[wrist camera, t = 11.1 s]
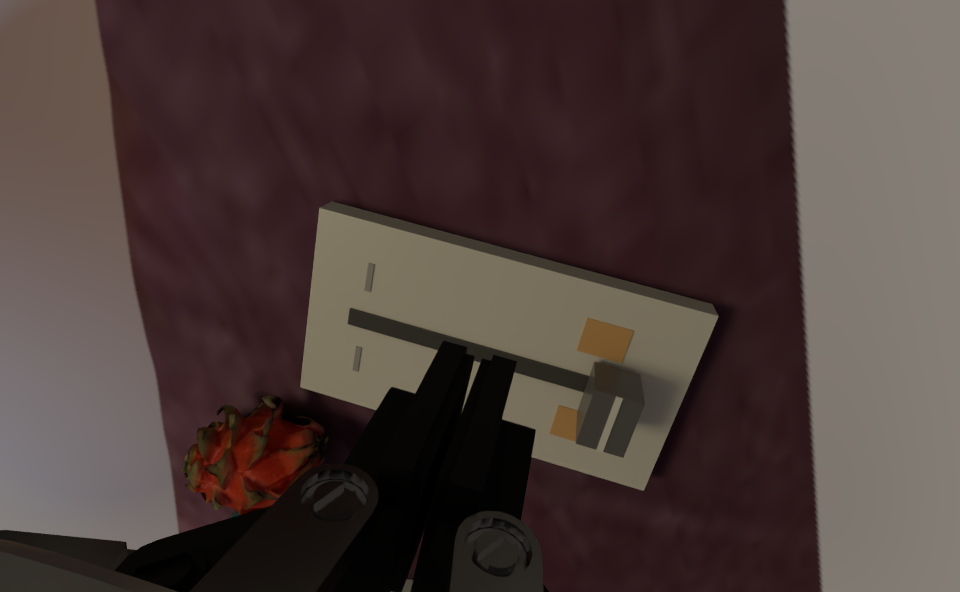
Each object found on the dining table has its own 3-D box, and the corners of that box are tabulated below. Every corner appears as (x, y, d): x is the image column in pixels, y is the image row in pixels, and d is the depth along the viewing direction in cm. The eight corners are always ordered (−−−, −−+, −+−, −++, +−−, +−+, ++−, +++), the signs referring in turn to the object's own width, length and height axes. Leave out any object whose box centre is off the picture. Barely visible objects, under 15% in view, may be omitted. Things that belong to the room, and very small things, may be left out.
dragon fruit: (221, 420, 50) (350, 392, 48) (225, 523, 47) (361, 497, 46) (150, 412, 42) (302, 379, 40) (150, 536, 39) (313, 504, 38)
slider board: (332, 201, 39) (318, 208, 37) (712, 303, 37) (719, 317, 35) (312, 374, 44) (298, 388, 42) (641, 472, 42) (643, 492, 40)
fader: (594, 361, 37) (594, 390, 33) (640, 374, 37) (644, 405, 33) (577, 411, 38) (575, 444, 35) (620, 424, 38) (623, 459, 35)
